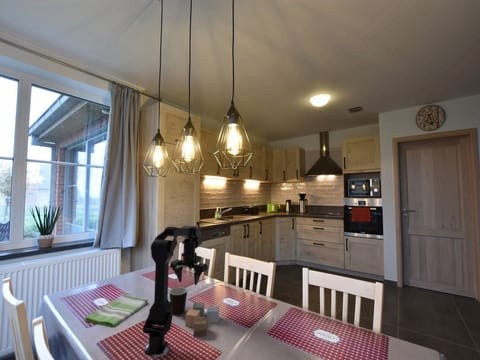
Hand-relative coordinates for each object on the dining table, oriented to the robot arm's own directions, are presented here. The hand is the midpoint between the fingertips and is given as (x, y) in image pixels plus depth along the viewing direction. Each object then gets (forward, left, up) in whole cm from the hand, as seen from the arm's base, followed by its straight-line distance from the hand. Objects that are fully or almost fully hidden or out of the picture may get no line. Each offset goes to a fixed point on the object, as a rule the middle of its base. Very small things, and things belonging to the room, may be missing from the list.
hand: (188, 283), depth 112 cm
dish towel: (-1, +33, -15) cm, 37 cm away
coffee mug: (+2, +4, -14) cm, 15 cm away
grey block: (-2, -6, -14) cm, 15 cm away
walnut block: (-15, -10, -14) cm, 23 cm away
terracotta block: (-9, -5, -14) cm, 17 cm away
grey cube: (-5, -14, -14) cm, 20 cm away
